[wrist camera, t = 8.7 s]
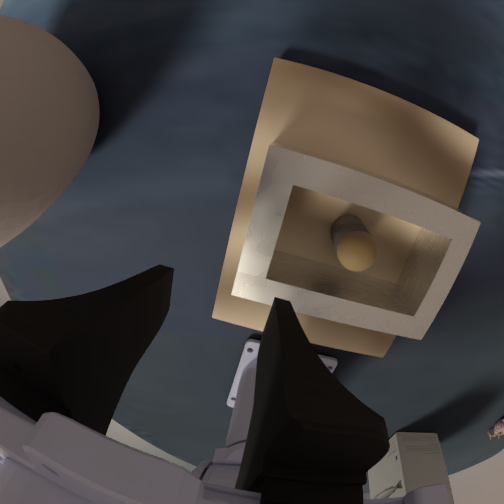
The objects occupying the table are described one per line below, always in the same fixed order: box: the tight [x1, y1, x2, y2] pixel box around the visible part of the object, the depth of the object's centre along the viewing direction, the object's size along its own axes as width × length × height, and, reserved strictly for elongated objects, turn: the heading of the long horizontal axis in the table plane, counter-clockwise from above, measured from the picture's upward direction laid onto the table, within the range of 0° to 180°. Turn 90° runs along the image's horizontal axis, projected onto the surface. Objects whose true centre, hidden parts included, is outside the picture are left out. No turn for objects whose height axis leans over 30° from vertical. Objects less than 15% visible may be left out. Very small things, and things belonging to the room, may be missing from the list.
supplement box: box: [368, 432, 454, 504], centre depth 24 cm, size 7×7×13 cm
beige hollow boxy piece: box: [231, 141, 481, 340], centre depth 16 cm, size 8×12×4 cm, turn 76°
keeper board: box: [212, 57, 479, 358], centre depth 17 cm, size 18×14×6 cm
